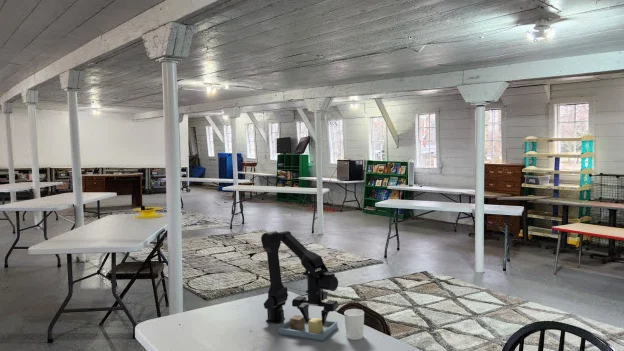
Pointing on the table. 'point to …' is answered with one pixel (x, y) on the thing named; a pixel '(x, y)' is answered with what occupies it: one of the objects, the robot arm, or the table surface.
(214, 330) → the table surface
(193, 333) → the table surface
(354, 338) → the white cup
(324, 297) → the robot arm
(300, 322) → the walnut block
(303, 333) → the slate tray
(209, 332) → the table surface
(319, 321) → the ochre block
